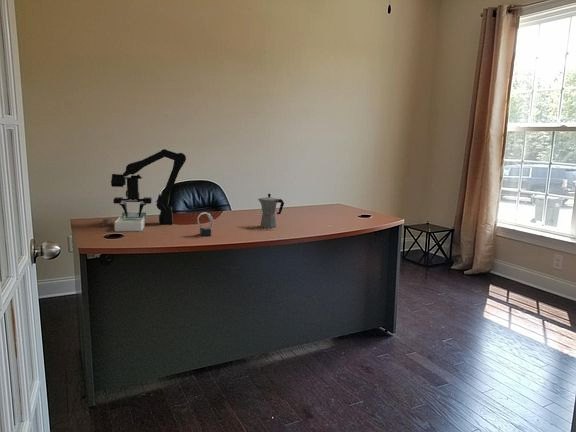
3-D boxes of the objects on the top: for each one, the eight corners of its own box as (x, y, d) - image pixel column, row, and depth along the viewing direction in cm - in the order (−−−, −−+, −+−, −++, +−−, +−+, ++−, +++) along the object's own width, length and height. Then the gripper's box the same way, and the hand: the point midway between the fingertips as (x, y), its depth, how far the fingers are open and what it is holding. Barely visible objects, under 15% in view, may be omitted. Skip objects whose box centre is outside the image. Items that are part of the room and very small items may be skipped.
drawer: (146, 219, 246) (146, 212, 245) (143, 224, 231) (143, 217, 230) (122, 219, 244) (122, 212, 243) (117, 225, 228) (117, 217, 228)
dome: (139, 215, 243) (139, 211, 242) (138, 217, 237) (138, 213, 237) (128, 215, 242) (128, 211, 241) (126, 217, 236) (126, 213, 235)
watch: (214, 235, 217) (215, 213, 216) (198, 236, 215) (198, 213, 213) (212, 233, 223) (212, 211, 221) (196, 234, 220) (196, 211, 218)
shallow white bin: (144, 225, 237) (144, 216, 237) (141, 231, 222) (141, 222, 221) (119, 225, 235) (119, 216, 234) (114, 231, 219) (114, 222, 219)
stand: (111, 225, 233) (111, 218, 232) (110, 227, 229) (110, 220, 229) (103, 225, 232) (103, 218, 232) (102, 227, 228) (101, 220, 228)
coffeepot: (253, 226, 244) (254, 193, 241) (261, 223, 252) (262, 191, 249) (279, 229, 238) (280, 195, 235) (286, 226, 246) (287, 194, 243)
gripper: (152, 185, 246) (153, 214, 249) (116, 185, 243) (117, 213, 245) (150, 188, 236) (151, 217, 238) (112, 187, 232) (113, 217, 234)
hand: (133, 216), depth 239 cm, fingers closed on dome, 6 cm apart
